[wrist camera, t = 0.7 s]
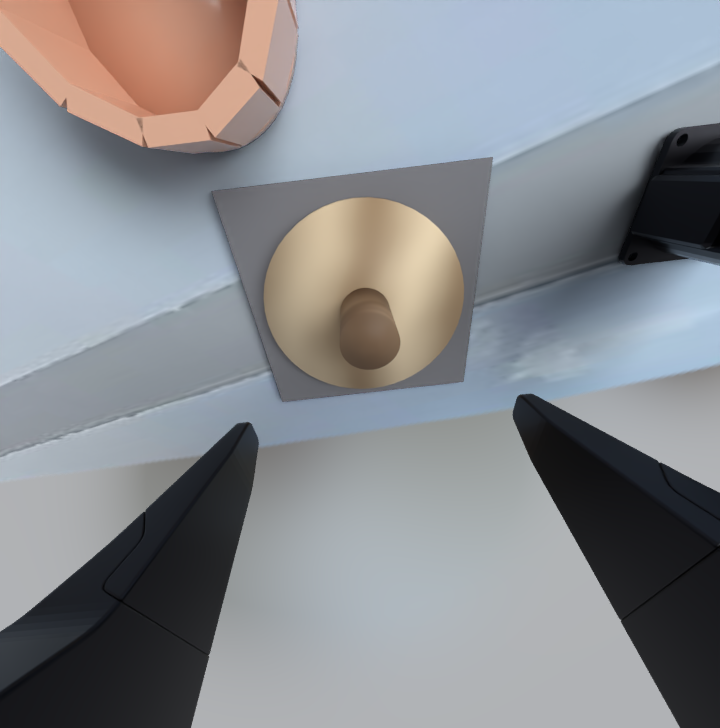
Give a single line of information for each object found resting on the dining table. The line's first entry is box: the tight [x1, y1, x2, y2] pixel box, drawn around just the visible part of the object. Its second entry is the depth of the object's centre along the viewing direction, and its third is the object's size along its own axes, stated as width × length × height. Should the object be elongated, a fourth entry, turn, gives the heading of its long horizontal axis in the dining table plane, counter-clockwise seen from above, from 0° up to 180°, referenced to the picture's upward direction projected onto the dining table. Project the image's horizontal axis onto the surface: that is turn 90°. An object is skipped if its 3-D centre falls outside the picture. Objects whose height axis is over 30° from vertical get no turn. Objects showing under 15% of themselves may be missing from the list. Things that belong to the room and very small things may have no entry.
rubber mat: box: [212, 157, 493, 402], centre depth 18 cm, size 14×14×1 cm
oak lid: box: [264, 197, 464, 389], centre depth 16 cm, size 12×12×5 cm
